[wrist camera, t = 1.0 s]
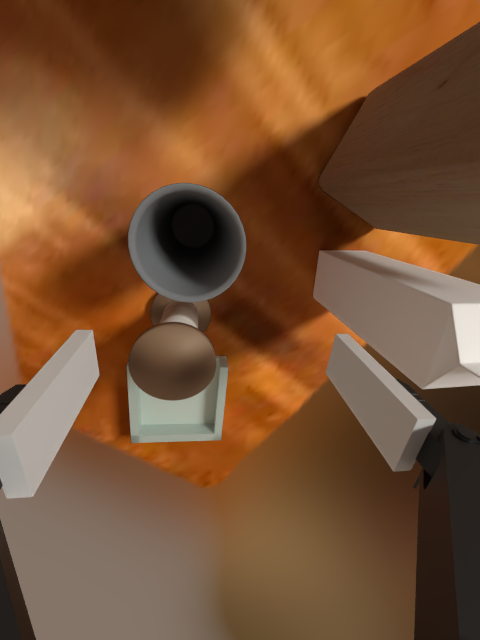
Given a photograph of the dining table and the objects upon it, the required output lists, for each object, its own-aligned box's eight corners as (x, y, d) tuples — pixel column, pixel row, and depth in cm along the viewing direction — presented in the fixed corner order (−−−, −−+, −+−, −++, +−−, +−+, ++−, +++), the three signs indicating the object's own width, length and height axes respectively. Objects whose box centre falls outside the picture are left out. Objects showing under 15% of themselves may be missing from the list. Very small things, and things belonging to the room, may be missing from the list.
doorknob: (150, 282, 31) (125, 325, 20) (212, 285, 33) (219, 328, 22) (152, 336, 34) (130, 400, 23) (208, 338, 35) (213, 400, 24)
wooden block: (369, 86, 27) (726, -152, 9) (434, 148, 30) (799, 66, 12) (311, 185, 30) (490, 160, 12) (376, 232, 33) (598, 270, 15)
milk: (318, 249, 33) (509, 324, 13) (365, 250, 33) (615, 320, 13) (311, 298, 35) (463, 426, 15) (356, 297, 36) (556, 418, 16)
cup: (152, 243, 30) (113, 279, 16) (173, 179, 28) (148, 158, 14) (210, 267, 32) (220, 317, 18) (234, 209, 30) (265, 216, 16)
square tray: (131, 353, 35) (126, 366, 32) (226, 355, 37) (228, 367, 34) (135, 427, 39) (131, 442, 37) (219, 425, 41) (220, 440, 39)
